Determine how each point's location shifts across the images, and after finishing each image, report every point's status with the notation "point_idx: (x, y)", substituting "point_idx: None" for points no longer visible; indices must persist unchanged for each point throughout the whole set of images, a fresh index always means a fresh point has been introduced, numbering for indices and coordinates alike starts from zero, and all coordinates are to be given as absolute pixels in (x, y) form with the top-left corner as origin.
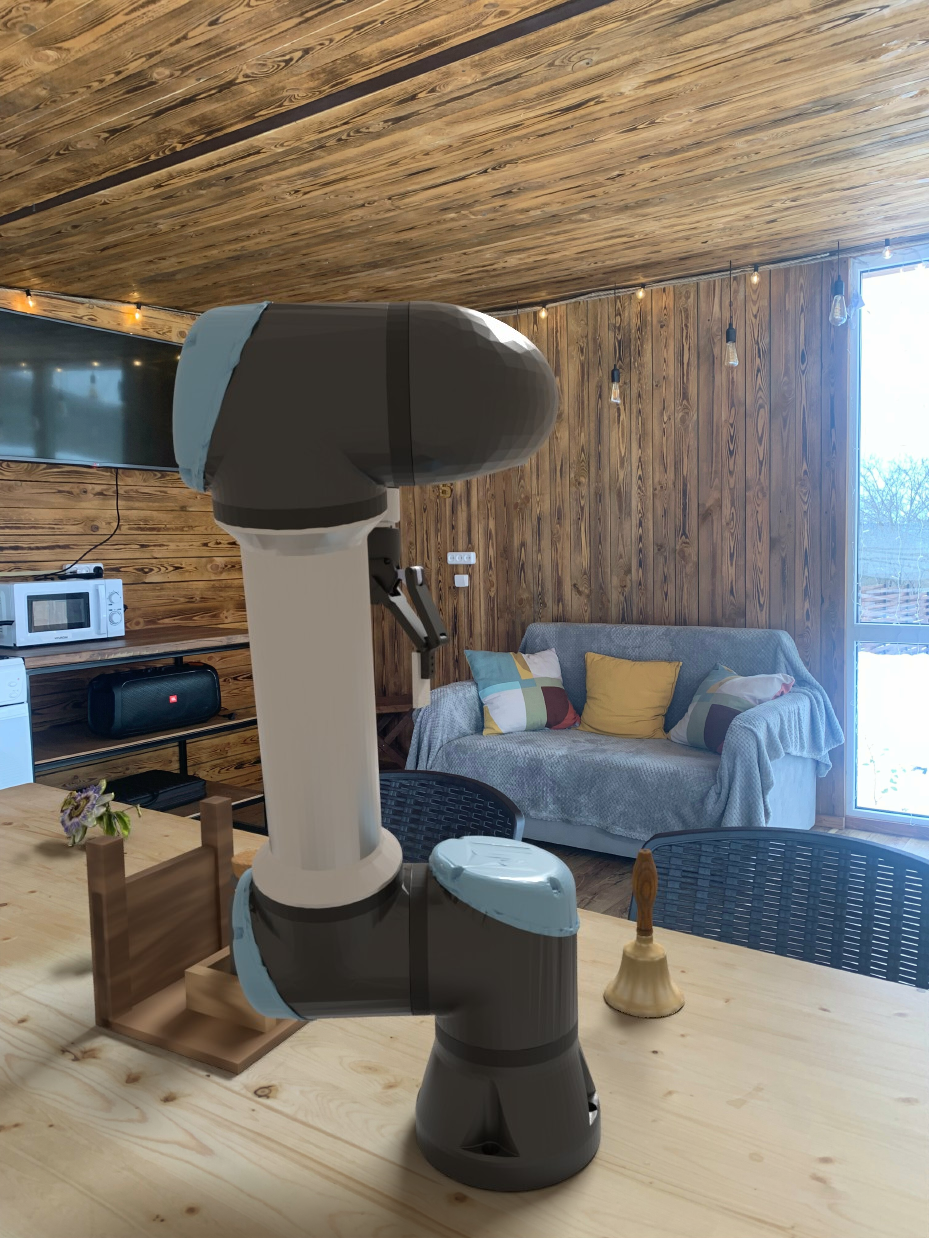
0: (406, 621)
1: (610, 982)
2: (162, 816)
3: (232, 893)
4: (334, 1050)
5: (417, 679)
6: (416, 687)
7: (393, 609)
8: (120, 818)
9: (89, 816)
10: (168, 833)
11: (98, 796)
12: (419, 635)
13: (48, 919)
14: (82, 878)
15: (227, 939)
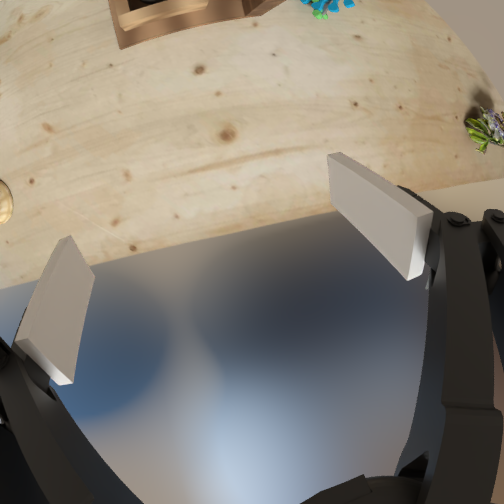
0: (24, 440)
1: (5, 193)
2: (473, 180)
3: (257, 2)
4: (69, 3)
5: (39, 283)
6: (47, 267)
7: (71, 495)
8: (481, 138)
9: (490, 117)
10: (457, 160)
11: (500, 133)
12: (1, 394)
13: (409, 6)
14: (446, 68)
15: (245, 3)
